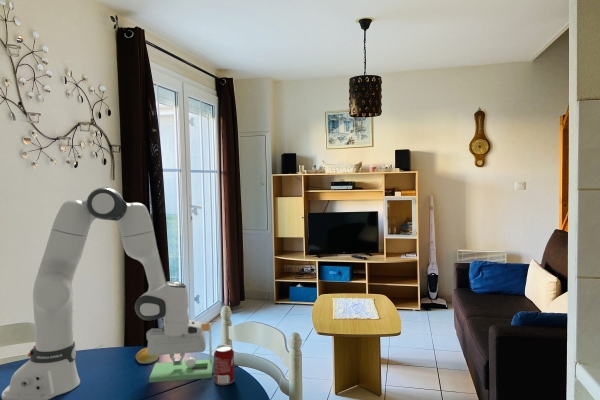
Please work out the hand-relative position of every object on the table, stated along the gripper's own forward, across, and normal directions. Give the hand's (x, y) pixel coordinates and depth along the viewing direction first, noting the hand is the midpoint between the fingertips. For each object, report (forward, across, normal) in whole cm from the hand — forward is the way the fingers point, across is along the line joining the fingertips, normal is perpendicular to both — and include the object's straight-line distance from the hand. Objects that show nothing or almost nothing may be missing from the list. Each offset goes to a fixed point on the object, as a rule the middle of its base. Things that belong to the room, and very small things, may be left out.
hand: (177, 364), depth 156 cm
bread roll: (+3, -13, +14) cm, 20 cm away
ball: (-1, +6, 0) cm, 6 cm away
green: (+3, +2, 0) cm, 3 cm away
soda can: (+3, +17, -10) cm, 20 cm away
